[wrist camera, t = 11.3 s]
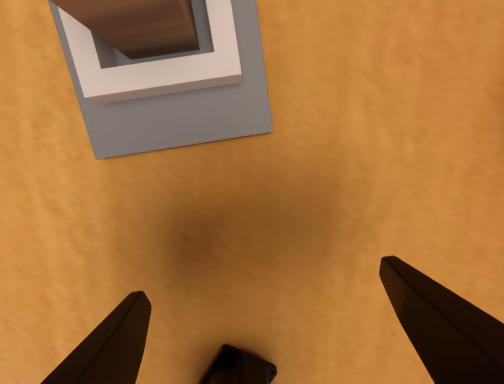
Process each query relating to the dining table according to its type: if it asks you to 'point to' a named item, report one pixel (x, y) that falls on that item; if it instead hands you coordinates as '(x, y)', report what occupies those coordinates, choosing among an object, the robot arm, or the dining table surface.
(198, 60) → the socket board
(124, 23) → the tall wooden pillar
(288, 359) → the dining table surface
